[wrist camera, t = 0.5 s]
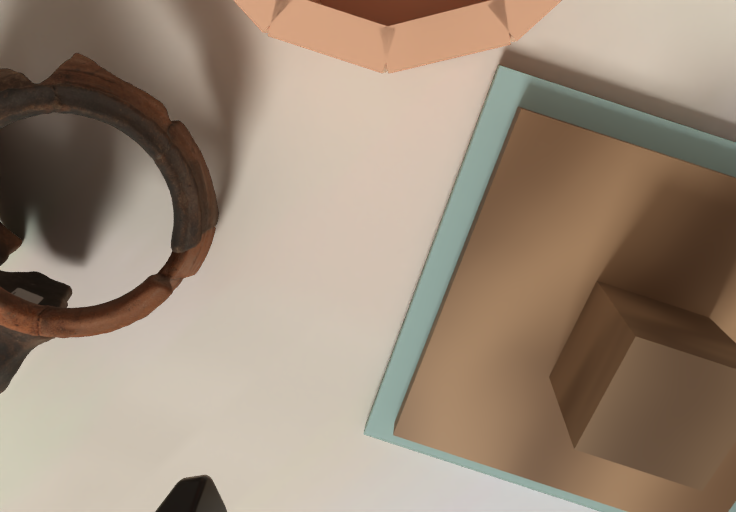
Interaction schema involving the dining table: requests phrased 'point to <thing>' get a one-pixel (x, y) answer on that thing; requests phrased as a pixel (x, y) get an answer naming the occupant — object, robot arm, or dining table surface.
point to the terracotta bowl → (396, 27)
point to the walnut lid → (590, 325)
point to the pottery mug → (180, 170)
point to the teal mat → (464, 204)
